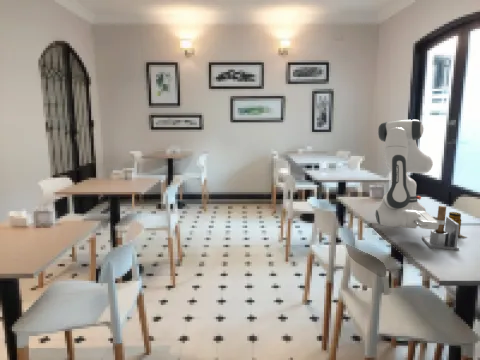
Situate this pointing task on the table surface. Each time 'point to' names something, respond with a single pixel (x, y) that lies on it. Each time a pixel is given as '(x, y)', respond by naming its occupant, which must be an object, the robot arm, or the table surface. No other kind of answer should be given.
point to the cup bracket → (444, 237)
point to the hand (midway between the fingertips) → (443, 221)
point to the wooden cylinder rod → (441, 218)
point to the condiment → (457, 219)
